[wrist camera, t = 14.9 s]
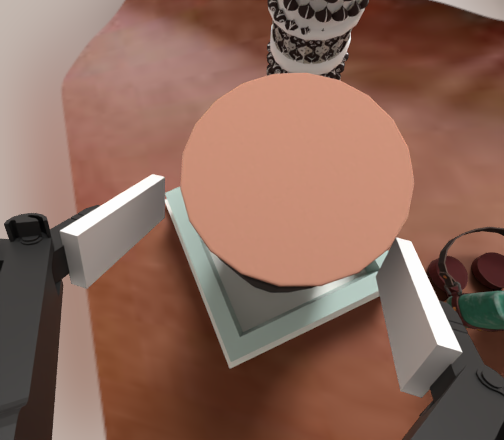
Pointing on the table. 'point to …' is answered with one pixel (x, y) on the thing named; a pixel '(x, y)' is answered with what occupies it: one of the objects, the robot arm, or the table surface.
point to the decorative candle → (311, 35)
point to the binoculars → (473, 304)
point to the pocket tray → (262, 297)
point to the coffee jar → (296, 181)
